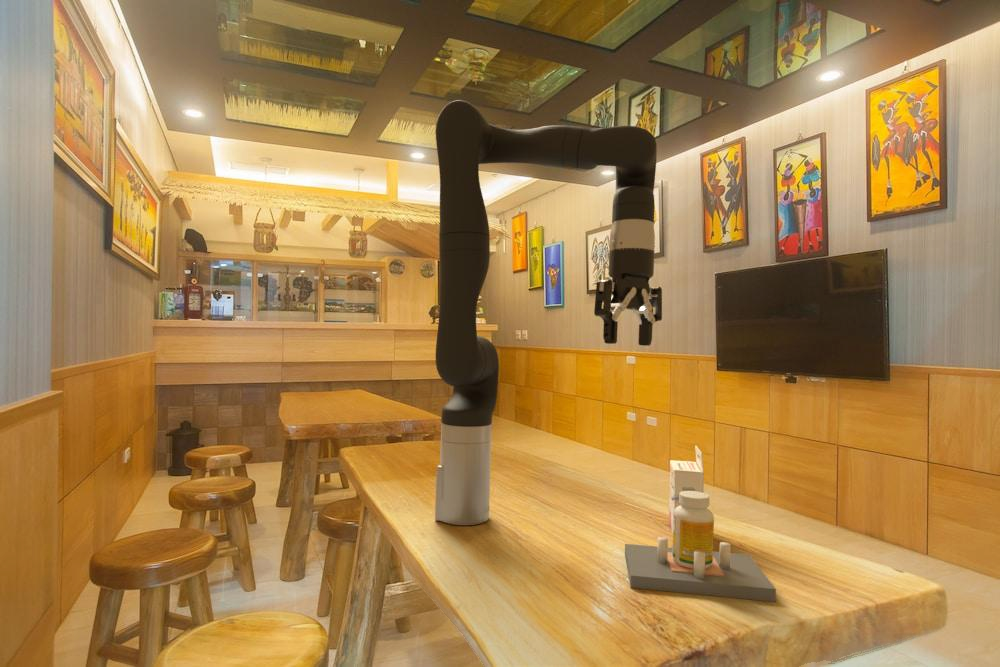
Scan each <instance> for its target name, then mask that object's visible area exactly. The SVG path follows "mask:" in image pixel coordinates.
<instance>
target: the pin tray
mask: <svg viewBox="0 0 1000 667" xmlns="http://www.w3.org/2000/svg"><path fill="white" fill-rule="evenodd" d="M672 553H673V547H669V539H668V538H667V537H664V536H659V537H657V545H656V546H653V545H643V544H630V543H624V557H625V562H626V570H627V575H628V576H627V577H628V580H629V586H630V588H631V589H642V590H653V591H662V592H673V593H682V594H692V595H700V596H701V595H703V596H711V597H712V596H713V597H721V598H722V597H723V598H732V599H733V598H734V599H741V600H742V599H744V600H752V601H764V602H772V603H775V602H776V599H777V598H776V597H777V594H776V592H777V589H776V587H775V586H774V584H772V583H771V581H770V580H769V578H768V577H767V575H765V573H764V572H763V570H761V568H760V567H759V566H758V564H757V563H756V562H755V560H754V559H753V558H752V557H751V555H750V554H748V553H747V554H746V553H735V552H731V543H729V542H724V541H722V542H721V541H720V542H719V551H714V550H713V562H712V566H711V567H710V568H707V569H705V552H703V551H700V550H695V551H694V569H691V568H687V567H683V566H680V565H678V564H677V563H675V562H674V560H673V557H672Z"/></svg>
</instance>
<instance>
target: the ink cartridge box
mask: <svg viewBox="0 0 1000 667" xmlns="http://www.w3.org/2000/svg"><path fill="white" fill-rule="evenodd" d="M694 450H695V461H690V460H674V459H672V460H669V503H668V504H669V505H668V506H669V508H668V509H669V511H668V512H669V514H668V520H669V521H668V524H669V527H670V532H671V534H672V535H673V517H674V510H675V508H676V507H678V506H680V505H681V504H680V503H679V493H680V492H682V491H697V492H702V493H704V492H705V491H704V487H705V486H704V485H705V484H704V483H705V482H704V481H705V480H704V479H705V478H704V477H705V476H704V474H705V472H704V461H703V460H704V459H703V458H704V457H703V453H702V451H701V450H700V448H699V447H698V446H697V445H695V447H694Z"/></svg>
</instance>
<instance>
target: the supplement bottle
mask: <svg viewBox="0 0 1000 667" xmlns="http://www.w3.org/2000/svg"><path fill="white" fill-rule="evenodd" d="M679 503H680V504H681V505H680V506H678V507H676V508H675V510H674V517H673V534H672V548H673V553H672V557H673V560H674V562H675V563H677V564H678V565H680V566H683V567H687V568H691V569H694V551H695V550H700V551H703V552H705V569H707V568H710V567H711V566H712V562H713V551H714V528H715V527H714V526H715V517H714V513H713V512H712V511H711V510H710V509H708V508H709V505H710V495H709V494H707V493H706V492H705V493H702V492H697V491H682V492H680V493H679Z"/></svg>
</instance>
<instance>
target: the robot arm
mask: <svg viewBox="0 0 1000 667" xmlns="http://www.w3.org/2000/svg"><path fill="white" fill-rule="evenodd" d="M435 144H436V150H437V159H438V169H439V230H438V231H439V235H438V236H439V237H438V238H439V239H438V240H439V241H438V242H439V247H438V248H439V250H438V251H439V254H438V255H439V313H438V324H437V333H436V334H437V335H436V344H435V366H436V371H437V374H438V376H439V377H440V379H441V380H442V381H443V382H444V383H445V384H447V385H449V386H450V387H453V390H452V395H451V397H450V399H449V401H448V402H447V403H446V404H445V405H444V406H443V407H442V410H441V423H440V424H441V425H440V427H441V429H440V453H439V455H440V456H439V457H440V458H439V460H440V461H439V464H438V465H437V466H436V474H435V476H436V480H435V506H434V507H435V510H434V520H435V521H440V522H442V523H445V524H448V525H453V526H455V525H456V526H475V525H480V524H483V523H486V522H488V520H489V518H490V496H491V495H490V494H491V493H490V492H491V464H492V463H491V458H492V455H491V454H492V427H493V426H492V423H493V414H494V411H495V409H496V406H497V400H498V388H499V386H498V385H499V370H500V365H499V364H500V363H499V354H498V351H497V348H496V347H495V345H494V344H493V343H492V342H491V341H490V340H489V339H488V338H486V337H483V336H479V335H478V332H477V308H478V307H477V306H478V302H479V297H480V295H481V292H482V289H483V287H484V284H485V282H486V278H487V274H488V270H489V268H490V259H491V258H490V254H491V253H490V251H491V248H490V247H491V246H490V243H491V241H490V240H491V239H490V225H489V219H488V213H487V209H486V205H485V201H484V198H483V192H482V188H481V183H480V176H479V175H480V174H479V173H480V172H479V171H480V169H479V165H485V164H486V165H487V164H506V163H507V164H533V165H542V166H543V165H544V166H552V167H561V168H567V169H568V168H569V169H576V170H590V171H591V170H594V169H595V168H597V166H601V167H602V166H604V167H615V193H614V195H613V200H612V210H611V211H612V212H611V214H612V217H611V227H610V234H609V250H608V252H609V253H608V274H607V275H608V276H609V278H611V279H601V280H597V282H596V286H595V287H596V289H595V300H594V310H593V311H594V315H595V317H600V318H601V320H602V321H603V334H602V335H603V336H602V337H603V340H604V344H608V345H609V344H612V345H615V344H617V343H618V329H619V328H618V321H617V320H618V318H619V317H620V315H621V313H622V312H625V310H630V311H631V310H632V313H633V314H635V315H636V316H637V318H638V321H639V322H640V323H639V324H638V345H639V346H651V345H652V341H653V327H654V326H653V325H654V324H655V323H656V322H661V321H662V319H663V289H662V287H661V286H650V283H649V280H650V279H651V278H652V277H653V276H654V270H655V269H654V268H655V245H656V234H655V224H654V223H655V195H654V190H655V183H656V182H655V181H656V172H657V171H656V170H657V153H658V152H657V148H658V146H657V141H656V138H655V137H654V134H652V132H650V131H649V130H647V129H646V128H643V127H640V126H636V125H617V126H604V127H599V128H592V127H584V126H573V125H567V124H566V125H562V124H554V125H552V124H551V125H544V126H539V127H534V128H525V129H513V128H512V129H511V128H505V127H501V126H497V125H493V124H490V123H489V122H488V121H487V119H486V118H485V117H484V116H483V114H482V113H481V112H480V110H479V109H478V108H477V107H475V106H474V105H473V104H471V103H470V102H468V101H466V100H461V99H456V100H452V101H450V102H449V103H447V104H446V105H444V107H443V108H442V109H441V111H440V112H439V115H438V116H437V120H436V123H435ZM654 308H655V310H654ZM654 312H655V313H654Z"/></svg>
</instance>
